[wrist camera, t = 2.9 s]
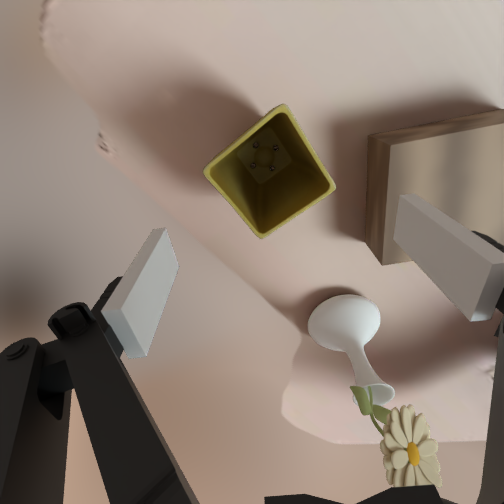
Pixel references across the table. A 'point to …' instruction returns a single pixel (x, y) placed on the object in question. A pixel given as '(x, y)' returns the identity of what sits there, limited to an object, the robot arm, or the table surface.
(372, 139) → the walnut block
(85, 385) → the robot arm
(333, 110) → the table surface
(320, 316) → the flower in vase
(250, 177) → the flower pot
